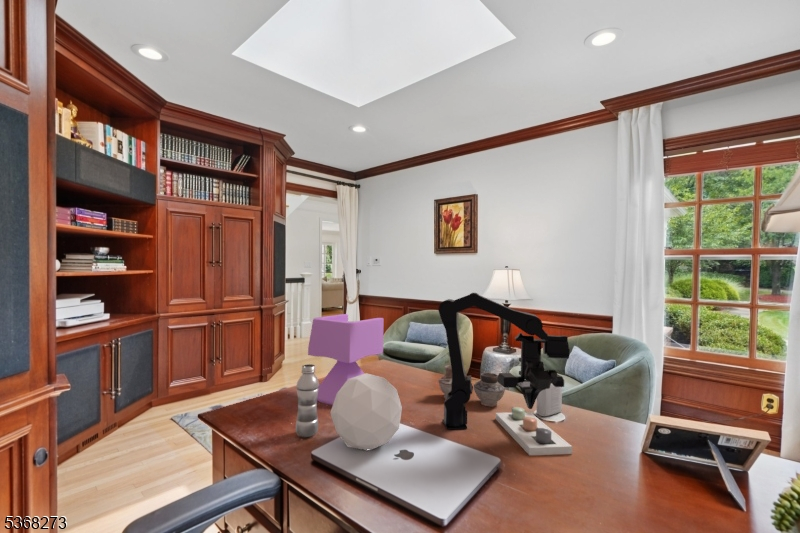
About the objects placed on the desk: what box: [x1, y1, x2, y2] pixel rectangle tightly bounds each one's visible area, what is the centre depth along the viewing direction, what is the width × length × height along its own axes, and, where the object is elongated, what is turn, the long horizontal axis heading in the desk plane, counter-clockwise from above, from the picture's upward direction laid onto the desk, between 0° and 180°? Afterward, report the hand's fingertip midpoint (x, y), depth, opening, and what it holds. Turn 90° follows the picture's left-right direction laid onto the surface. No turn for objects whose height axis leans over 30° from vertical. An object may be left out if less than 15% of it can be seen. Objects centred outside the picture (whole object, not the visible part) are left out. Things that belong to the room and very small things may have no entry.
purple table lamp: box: [307, 313, 385, 406], centre depth 137 cm, size 20×20×30 cm
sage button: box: [511, 406, 526, 421], centre depth 117 cm, size 4×4×3 cm
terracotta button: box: [523, 417, 537, 432], centre depth 109 cm, size 4×4×3 cm
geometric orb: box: [329, 372, 403, 451], centre depth 100 cm, size 19×20×20 cm
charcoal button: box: [536, 428, 551, 445], centre depth 101 cm, size 4×4×3 cm
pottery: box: [437, 364, 506, 407], centre depth 137 cm, size 11×25×12 cm, turn 67°
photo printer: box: [536, 384, 563, 417], centre depth 126 cm, size 10×4×12 cm, turn 123°
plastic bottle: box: [294, 363, 320, 438], centre depth 105 cm, size 6×7×20 cm
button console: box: [495, 411, 573, 456], centre depth 109 cm, size 12×24×2 cm, turn 7°
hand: (529, 408), depth 109 cm, fingers closed
